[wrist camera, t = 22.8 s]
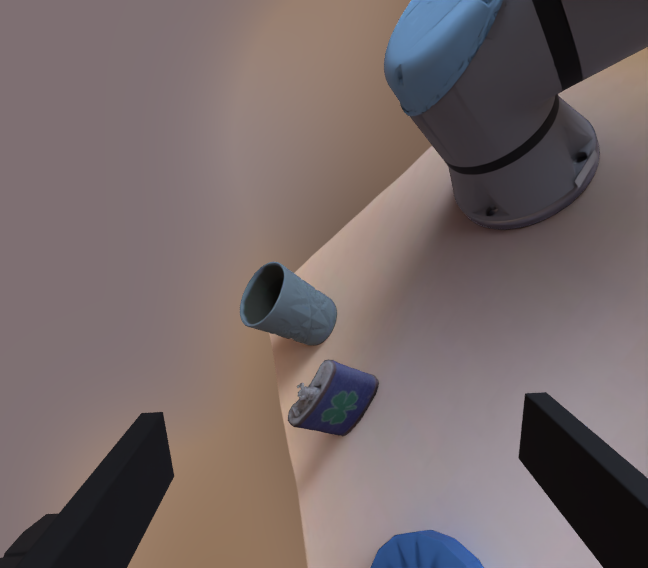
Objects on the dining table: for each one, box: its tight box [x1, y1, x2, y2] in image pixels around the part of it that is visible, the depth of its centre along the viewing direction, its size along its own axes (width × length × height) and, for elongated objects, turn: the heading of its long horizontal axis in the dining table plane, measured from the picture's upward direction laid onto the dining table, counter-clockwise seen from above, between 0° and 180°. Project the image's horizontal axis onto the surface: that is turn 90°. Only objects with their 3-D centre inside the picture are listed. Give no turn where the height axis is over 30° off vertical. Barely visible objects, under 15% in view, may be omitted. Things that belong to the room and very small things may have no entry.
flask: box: [288, 360, 379, 436], centre depth 42 cm, size 9×3×11 cm, turn 133°
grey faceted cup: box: [240, 262, 337, 345], centre depth 54 cm, size 10×10×12 cm
